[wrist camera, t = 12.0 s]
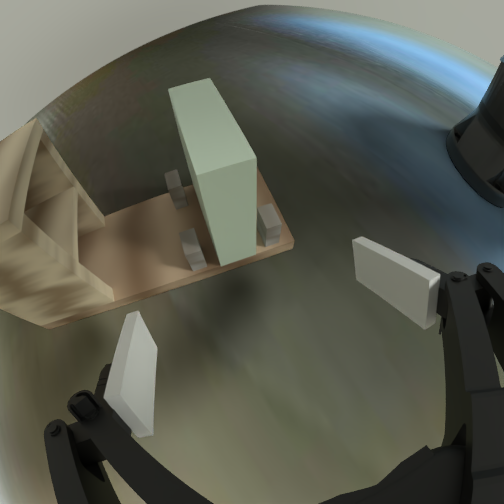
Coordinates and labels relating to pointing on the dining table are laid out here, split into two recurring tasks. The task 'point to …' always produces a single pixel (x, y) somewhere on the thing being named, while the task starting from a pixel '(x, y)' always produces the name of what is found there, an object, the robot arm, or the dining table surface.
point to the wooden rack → (101, 238)
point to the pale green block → (218, 168)
